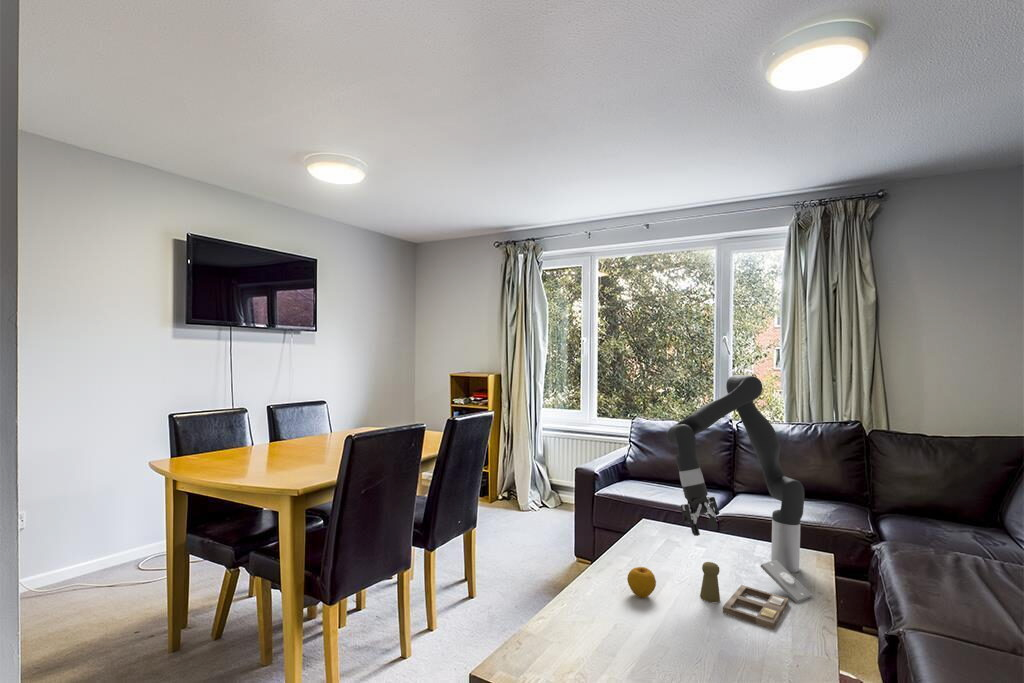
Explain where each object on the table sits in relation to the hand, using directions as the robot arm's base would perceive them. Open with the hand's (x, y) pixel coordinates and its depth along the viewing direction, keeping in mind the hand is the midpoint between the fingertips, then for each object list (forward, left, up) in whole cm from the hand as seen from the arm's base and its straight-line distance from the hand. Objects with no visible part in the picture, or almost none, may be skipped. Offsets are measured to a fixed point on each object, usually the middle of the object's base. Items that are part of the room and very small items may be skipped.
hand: (705, 532), depth 173 cm
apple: (+20, -13, -19) cm, 30 cm away
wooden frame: (+3, +17, -18) cm, 25 cm away
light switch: (-16, +21, -19) cm, 32 cm away
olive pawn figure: (+6, +4, -19) cm, 20 cm away
